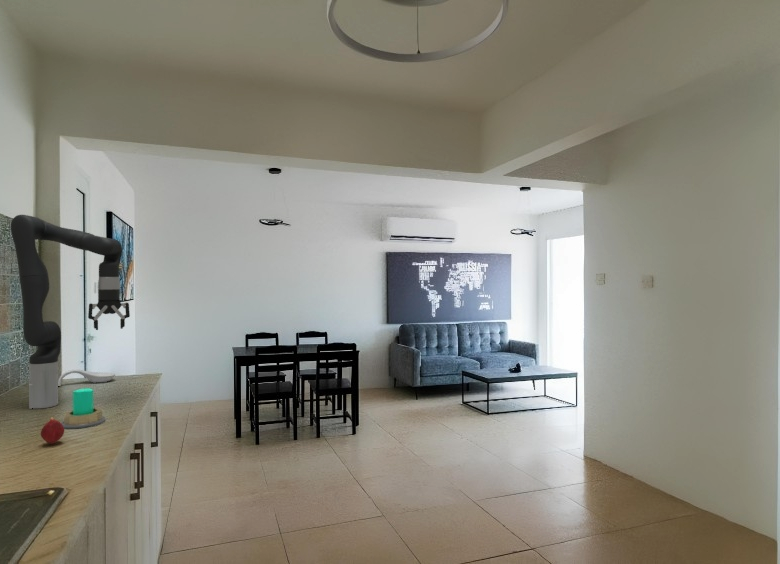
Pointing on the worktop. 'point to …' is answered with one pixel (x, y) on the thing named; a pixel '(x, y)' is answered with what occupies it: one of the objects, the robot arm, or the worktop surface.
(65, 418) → the collar
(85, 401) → the candle
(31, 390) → the robot arm
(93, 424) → the dish
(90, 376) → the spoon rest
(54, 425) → the onion
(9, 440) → the worktop surface
